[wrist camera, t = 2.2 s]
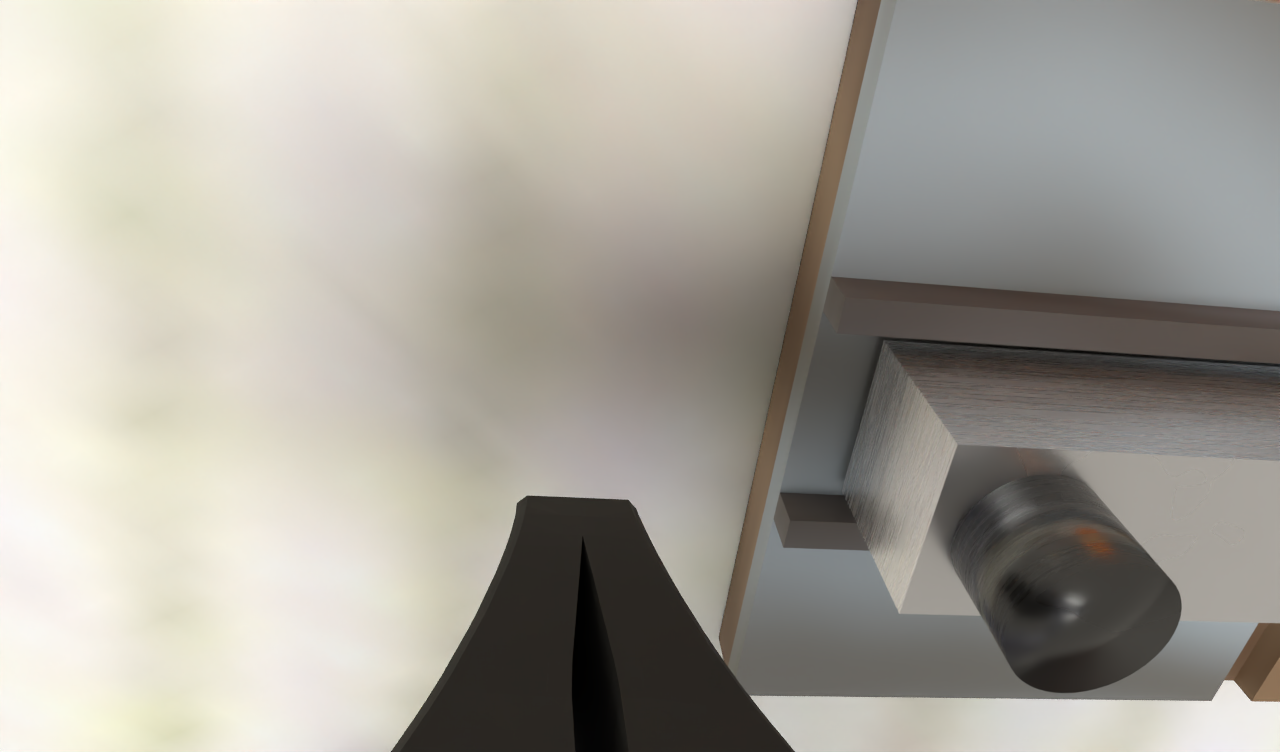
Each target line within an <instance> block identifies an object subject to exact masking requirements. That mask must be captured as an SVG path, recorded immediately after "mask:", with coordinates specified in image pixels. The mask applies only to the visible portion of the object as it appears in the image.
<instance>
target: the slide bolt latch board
mask: <svg viewBox="0 0 1280 752" xmlns="http://www.w3.org/2000/svg"><path fill="white" fill-rule="evenodd" d="M884 340H887V341H902V342H917V343H932V344H946V345H961V346H976V347H991V348H1005V349H1020V350H1035V351H1050V352H1065V353H1079V354H1094V355H1109V356H1124V357H1138V358H1153V359H1168V360H1183V361H1197V362H1212V363H1227V364H1242V365H1256V366H1271V367H1280V0H858V3H857V8H856V12H855V17H854V22H853V26H852V31H851V35H850V40H849V44H848V49H847V54H846V58H845V63H844V67H843V72H842V76H841V81H840V86H839V90H838V95H837V99H836V104H835V109H834V113H833V118H832V122H831V127H830V131H829V136H828V141H827V145H826V150H825V154H824V159H823V163H822V168H821V173H820V177H819V182H818V186H817V191H816V195H815V200H814V205H813V209H812V214H811V218H810V223H809V227H808V232H807V237H806V241H805V246H804V250H803V255H802V259H801V264H800V269H799V273H798V278H797V282H796V287H795V292H794V296H793V301H792V305H791V310H790V314H789V319H788V324H787V328H786V333H785V337H784V342H783V346H782V351H781V356H780V360H779V365H778V369H777V374H776V378H775V383H774V388H773V392H772V397H771V401H770V406H769V410H768V415H767V420H766V424H765V429H764V433H763V438H762V443H761V447H760V452H759V456H758V461H757V465H756V470H755V475H754V479H753V484H752V488H751V493H750V497H749V502H748V507H747V511H746V516H745V520H744V525H743V529H742V534H741V539H740V543H739V548H738V552H737V557H736V561H735V566H734V571H733V575H732V580H731V584H730V589H729V594H728V598H727V603H726V607H725V612H724V616H723V621H722V626H721V630H720V635H719V641H720V645H721V650H722V654H723V659H724V662H725V663H726V665H727V666H728V667H729V669H730V670H731V672H732V673H733V674H734V676H735V677H736V679H737V680H738V681H739V683H740V684H741V685H742V687H743V688H744V689H745V691H746V692H747V693H748V695H759V696H844V697H930V698H1016V699H1102V700H1188V701H1212V699H1213V697H1214V696H1215V694H1216V692H1217V691H1218V689H1219V687H1220V686H1221V684H1222V683H1223V681H1224V680H1234V681H1235V682H1236V683H1237V685H1238V686H1239V687H1240V688H1241V689H1242V690H1243V692H1244V693H1245V694H1246V695H1247V696H1248V698H1249V699H1250V700H1251V701H1274V702H1280V623H1250V622H1209V621H1179V624H1178V626H1177V628H1176V630H1175V633H1174V634H1173V636H1172V637H1171V639H1170V641H1169V642H1168V643H1167V645H1166V646H1165V647H1164V648H1163V649H1162V651H1161V652H1160V653H1159V654H1158V655H1157V656H1156V657H1155V658H1153V659H1152V660H1151V661H1150V662H1149V663H1147V664H1146V665H1145V666H1143V667H1142V668H1140V669H1139V670H1138V671H1136V672H1134V673H1133V674H1131V675H1129V676H1128V677H1125V678H1123V679H1121V680H1119V681H1117V682H1115V683H1112V684H1110V685H1107V686H1104V687H1101V688H1097V689H1094V690H1089V691H1084V692H1077V693H1053V692H1047V691H1043V690H1039V689H1036V688H1034V687H1032V686H1030V685H1028V684H1026V683H1025V682H1023V681H1022V680H1020V679H1019V678H1018V677H1017V676H1016V675H1015V673H1014V672H1013V670H1012V669H1011V667H1010V665H1009V664H1008V662H1007V660H1006V659H1005V657H1004V655H1003V653H1002V652H1001V650H1000V648H999V646H998V645H997V643H996V641H995V640H994V638H993V636H992V634H991V633H990V631H989V629H988V627H987V626H986V624H985V622H984V620H983V619H982V617H981V616H967V615H927V614H899V612H898V610H897V608H896V606H895V604H894V601H893V599H892V597H891V595H890V593H889V591H888V589H887V587H886V584H885V582H884V580H883V578H882V576H881V574H880V572H879V570H878V567H877V565H876V563H875V561H874V559H873V557H872V555H871V553H870V550H869V548H868V546H867V544H866V542H865V540H864V538H863V536H862V533H861V531H860V529H859V527H858V525H857V523H856V521H855V519H854V516H853V514H852V512H851V510H850V508H849V506H848V504H847V502H846V499H845V497H844V495H843V493H842V489H843V485H844V481H845V478H846V474H847V471H848V467H849V463H850V460H851V456H852V453H853V449H854V446H855V442H856V438H857V435H858V431H859V428H860V424H861V420H862V417H863V413H864V410H865V406H866V402H867V399H868V395H869V392H870V388H871V384H872V381H873V377H874V374H875V370H876V367H877V363H878V359H879V356H880V352H881V349H882V345H883V341H884Z"/></svg>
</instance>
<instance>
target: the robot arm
mask: <svg viewBox="0 0 1280 752" xmlns="http://www.w3.org/2000/svg"><path fill="white" fill-rule="evenodd" d="M391 752H795V751H794V750H793V749H792V748H791V746H790V745H789V744H788V743H787V742H786V741H785V739H784V738H783V737H782V736H781V735H780V733H779V732H778V731H777V730H776V729H775V728H774V726H773V725H772V724H771V723H770V722H769V720H768V719H767V718H766V717H765V715H764V714H763V713H762V712H761V710H760V709H759V708H758V706H757V705H756V704H755V703H754V701H753V700H752V699H751V697H750V696H749V695H748V693H747V692H746V691H745V689H744V688H743V687H742V685H741V684H740V683H739V681H738V680H737V679H736V677H735V676H734V674H733V673H732V672H731V670H730V669H729V667H728V666H727V665H726V663H725V662H724V661H723V659H722V658H721V656H720V655H719V653H718V652H717V650H716V649H715V648H714V646H713V645H712V643H711V642H710V640H709V639H708V637H707V636H706V634H705V633H704V631H703V630H702V628H701V626H700V625H699V623H698V622H697V620H696V618H695V617H694V615H693V614H692V612H691V610H690V609H689V607H688V606H687V604H686V602H685V601H684V599H683V598H682V596H681V594H680V593H679V591H678V589H677V588H676V586H675V584H674V583H673V581H672V579H671V577H670V576H669V574H668V572H667V570H666V568H665V567H664V565H663V563H662V561H661V559H660V557H659V556H658V554H657V552H656V550H655V548H654V546H653V544H652V542H651V540H650V538H649V536H648V534H647V532H646V530H645V528H644V526H643V524H642V522H641V519H640V517H639V515H638V512H637V510H636V508H635V507H634V506H633V505H632V504H631V503H630V501H629V500H619V499H595V498H571V497H547V496H526V497H525V498H523V499H522V500H521V501H519V502H518V503H517V507H516V515H515V519H514V523H513V527H512V531H511V534H510V537H509V540H508V543H507V546H506V549H505V551H504V554H503V556H502V559H501V561H500V564H499V566H498V569H497V571H496V574H495V576H494V578H493V580H492V582H491V584H490V586H489V588H488V590H487V593H486V595H485V597H484V599H483V601H482V603H481V605H480V607H479V609H478V611H477V614H476V616H475V618H474V619H473V621H472V623H471V625H470V627H469V629H468V631H467V632H466V634H465V636H464V638H463V639H462V641H461V643H460V645H459V646H458V648H457V650H456V652H455V653H454V655H453V657H452V659H451V660H450V662H449V664H448V666H447V667H446V669H445V671H444V673H443V674H442V676H441V678H440V679H439V681H438V683H437V684H436V686H435V687H434V689H433V690H432V692H431V694H430V695H429V697H428V698H427V700H426V702H425V703H424V705H423V706H422V708H421V709H420V711H419V712H418V714H417V715H416V717H415V718H414V720H413V721H412V722H411V724H410V725H409V727H408V728H407V730H406V731H405V733H404V734H403V735H402V737H401V738H400V740H399V741H398V743H397V744H396V745H395V747H394V748H393V750H392V751H391Z"/></svg>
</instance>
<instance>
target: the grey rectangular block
mask: <svg viewBox="0 0 1280 752" xmlns="http://www.w3.org/2000/svg"><path fill="white" fill-rule="evenodd" d="M842 493H843V495H844V497H845V499H846V502H847V504H848V506H849V508H850V510H851V512H852V514H853V516H854V519H855V521H856V523H857V525H858V527H859V529H860V531H861V533H862V536H863V538H864V540H865V542H866V544H867V546H868V548H869V550H870V553H871V555H872V557H873V559H874V561H875V563H876V565H877V567H878V570H879V572H880V574H881V576H882V578H883V580H884V582H885V584H886V587H887V589H888V591H889V593H890V595H891V597H892V599H893V601H894V604H895V606H896V608H897V610H898V612H899V614H927V615H967V616H981V617H982V619H983V620H984V622H985V624H986V626H987V627H988V629H989V631H990V633H991V634H992V636H993V638H994V640H995V641H996V643H997V645H998V646H999V648H1000V650H1001V652H1002V653H1003V655H1004V657H1005V659H1006V660H1007V662H1008V664H1009V665H1010V667H1011V669H1012V670H1013V672H1014V673H1015V675H1016V676H1017V677H1018V678H1019V679H1020V680H1022V681H1023V682H1025V683H1026V684H1028V685H1030V686H1032V687H1034V688H1036V689H1039V690H1043V691H1047V692H1053V693H1077V692H1084V691H1089V690H1094V689H1097V688H1101V687H1104V686H1107V685H1110V684H1112V683H1115V682H1117V681H1119V680H1121V679H1123V678H1125V677H1128V676H1129V675H1131V674H1133V673H1134V672H1136V671H1138V670H1139V669H1140V668H1142V667H1143V666H1145V665H1146V664H1147V663H1149V662H1150V661H1151V660H1152V659H1153V658H1155V657H1156V656H1157V655H1158V654H1159V653H1160V652H1161V651H1162V649H1163V648H1164V647H1165V646H1166V645H1167V643H1168V642H1169V641H1170V639H1171V637H1172V636H1173V634H1174V633H1175V630H1176V628H1177V626H1178V624H1179V621H1209V622H1250V623H1280V367H1271V366H1256V365H1242V364H1227V363H1212V362H1197V361H1183V360H1168V359H1153V358H1138V357H1124V356H1109V355H1094V354H1079V353H1065V352H1050V351H1035V350H1020V349H1005V348H991V347H976V346H961V345H946V344H932V343H917V342H902V341H887V340H884V341H883V345H882V349H881V352H880V356H879V359H878V363H877V367H876V370H875V374H874V377H873V381H872V384H871V388H870V392H869V395H868V399H867V402H866V406H865V410H864V413H863V417H862V420H861V424H860V428H859V431H858V435H857V438H856V442H855V446H854V449H853V453H852V456H851V460H850V463H849V467H848V471H847V474H846V478H845V481H844V485H843V489H842Z"/></svg>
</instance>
